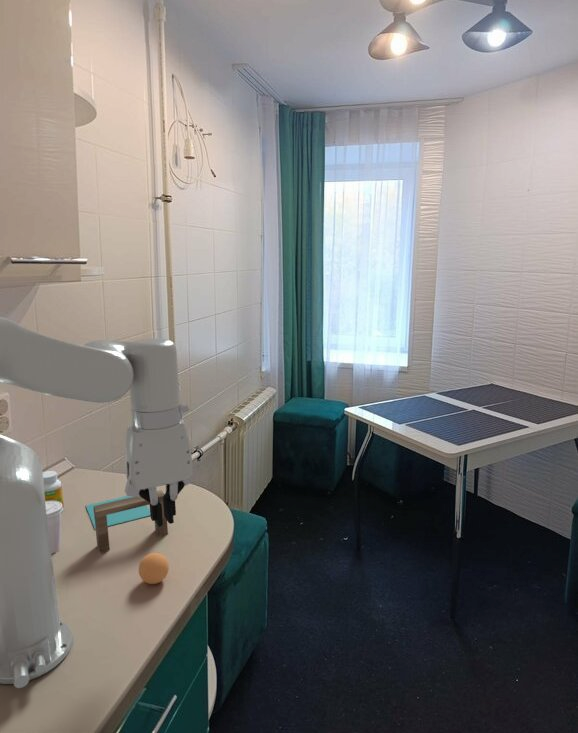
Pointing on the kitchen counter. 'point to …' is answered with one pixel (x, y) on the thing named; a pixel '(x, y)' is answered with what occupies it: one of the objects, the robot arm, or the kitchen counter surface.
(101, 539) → the bridge
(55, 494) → the supplement bottle
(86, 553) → the kitchen counter surface
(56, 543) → the smoothie
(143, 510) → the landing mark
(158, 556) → the ball
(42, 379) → the robot arm
